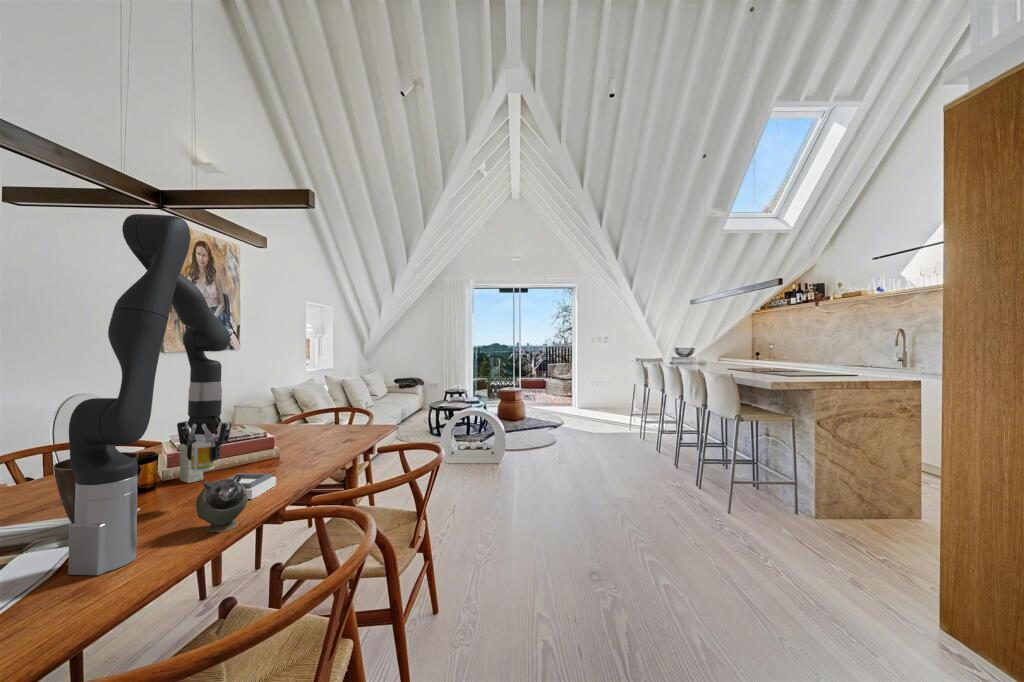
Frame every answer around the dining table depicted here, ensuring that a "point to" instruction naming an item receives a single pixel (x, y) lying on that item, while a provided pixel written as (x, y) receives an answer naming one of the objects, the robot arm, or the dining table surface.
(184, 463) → the skincare box
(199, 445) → the supplement bottle
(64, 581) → the dining table surface
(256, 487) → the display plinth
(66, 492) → the plant pot
